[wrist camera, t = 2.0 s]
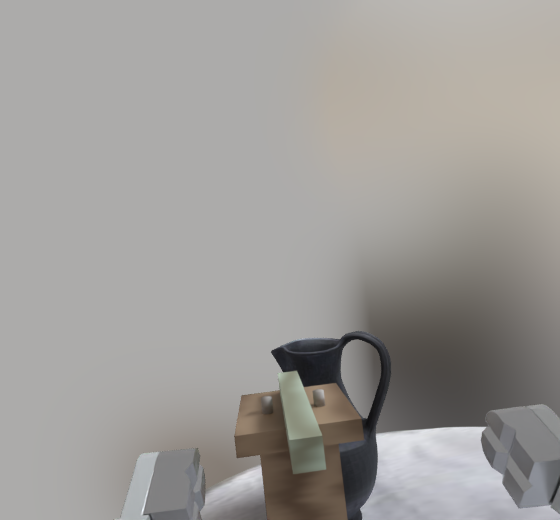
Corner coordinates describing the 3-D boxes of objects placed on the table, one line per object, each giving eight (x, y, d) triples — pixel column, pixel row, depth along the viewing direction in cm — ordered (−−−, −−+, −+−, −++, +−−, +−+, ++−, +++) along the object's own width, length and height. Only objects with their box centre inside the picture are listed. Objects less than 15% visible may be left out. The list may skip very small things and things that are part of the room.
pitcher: (300, 483, 71) (283, 328, 73) (413, 495, 63) (391, 322, 65) (263, 548, 55) (241, 348, 57) (409, 575, 47) (379, 342, 49)
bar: (299, 390, 45) (297, 370, 45) (326, 469, 26) (322, 435, 26) (280, 392, 45) (277, 373, 45) (293, 474, 26) (289, 440, 26)
